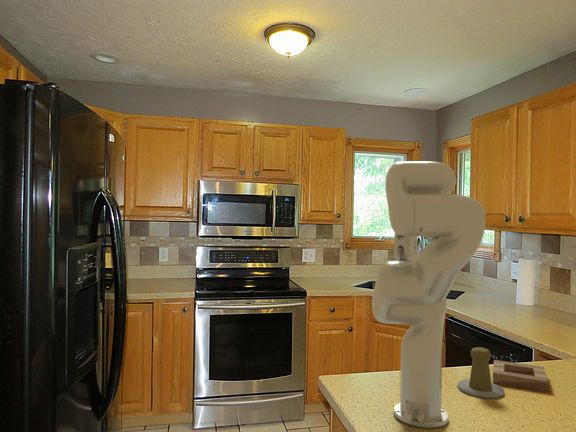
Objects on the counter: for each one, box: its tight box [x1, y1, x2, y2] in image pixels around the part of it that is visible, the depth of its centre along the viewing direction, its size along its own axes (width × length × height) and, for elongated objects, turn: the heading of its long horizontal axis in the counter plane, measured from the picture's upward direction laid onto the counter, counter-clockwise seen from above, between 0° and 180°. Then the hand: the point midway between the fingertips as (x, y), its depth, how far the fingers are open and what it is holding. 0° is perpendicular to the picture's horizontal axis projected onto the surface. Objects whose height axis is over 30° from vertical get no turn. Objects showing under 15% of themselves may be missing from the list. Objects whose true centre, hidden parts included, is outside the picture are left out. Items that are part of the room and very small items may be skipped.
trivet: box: [457, 378, 505, 400], centre depth 120 cm, size 12×12×1 cm
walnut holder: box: [492, 359, 549, 393], centre depth 128 cm, size 14×14×3 cm
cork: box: [469, 347, 492, 392], centre depth 119 cm, size 6×6×11 cm
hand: (404, 280), depth 125 cm, fingers open, 9 cm apart
